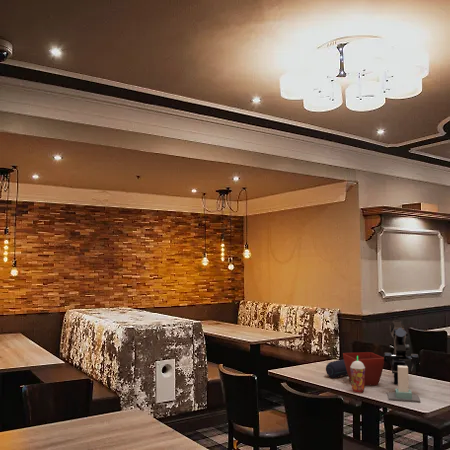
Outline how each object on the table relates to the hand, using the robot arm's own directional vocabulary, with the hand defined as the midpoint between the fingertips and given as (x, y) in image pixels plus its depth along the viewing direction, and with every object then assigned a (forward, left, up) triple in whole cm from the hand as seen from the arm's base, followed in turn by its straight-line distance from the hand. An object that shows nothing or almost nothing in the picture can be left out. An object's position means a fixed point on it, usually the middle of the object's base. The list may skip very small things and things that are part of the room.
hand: (402, 370), depth 274 cm
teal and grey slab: (0, -7, -13) cm, 15 cm away
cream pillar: (0, -7, -9) cm, 11 cm away
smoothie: (-24, +1, -13) cm, 28 cm away
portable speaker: (-35, +38, -14) cm, 54 cm away
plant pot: (-21, +21, -13) cm, 33 cm away
